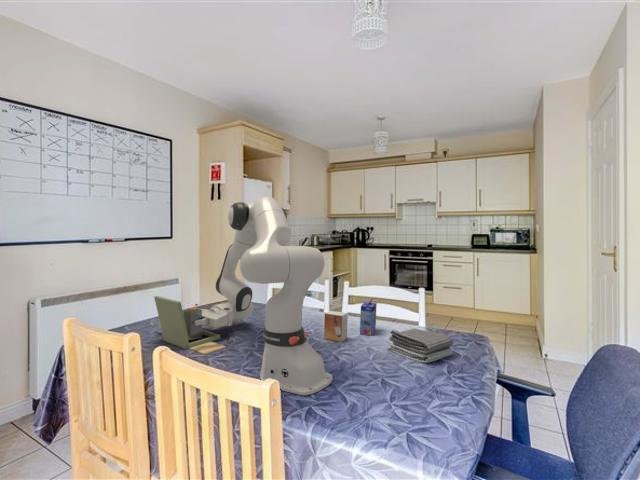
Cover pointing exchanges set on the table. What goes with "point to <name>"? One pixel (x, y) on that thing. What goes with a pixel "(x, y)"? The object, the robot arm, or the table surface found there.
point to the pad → (207, 347)
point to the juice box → (368, 318)
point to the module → (189, 317)
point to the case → (177, 324)
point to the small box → (335, 326)
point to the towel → (420, 345)
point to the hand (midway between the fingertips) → (189, 321)
